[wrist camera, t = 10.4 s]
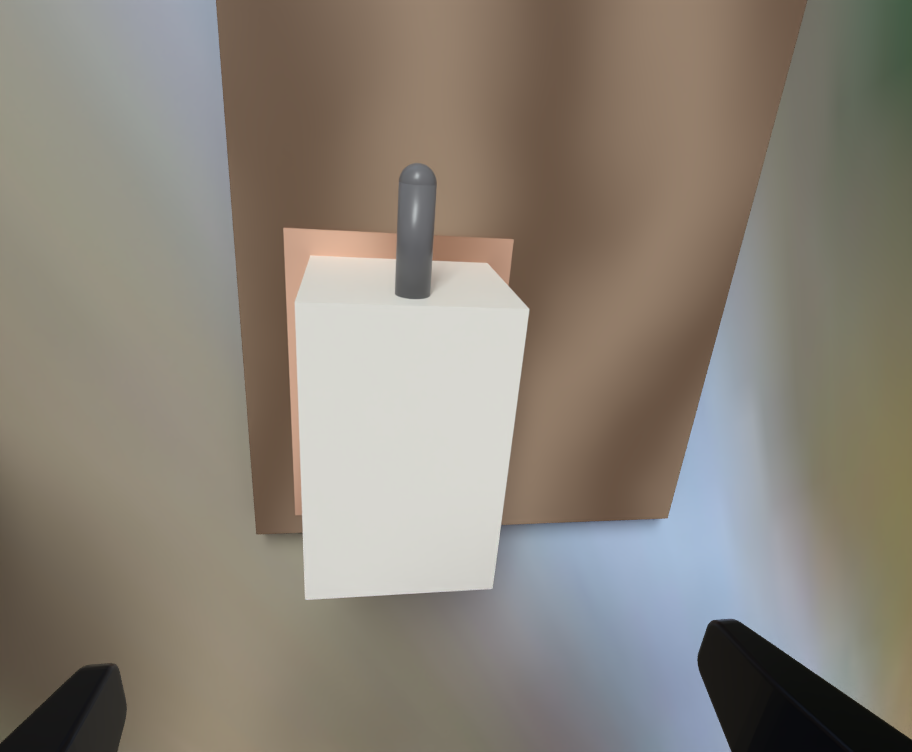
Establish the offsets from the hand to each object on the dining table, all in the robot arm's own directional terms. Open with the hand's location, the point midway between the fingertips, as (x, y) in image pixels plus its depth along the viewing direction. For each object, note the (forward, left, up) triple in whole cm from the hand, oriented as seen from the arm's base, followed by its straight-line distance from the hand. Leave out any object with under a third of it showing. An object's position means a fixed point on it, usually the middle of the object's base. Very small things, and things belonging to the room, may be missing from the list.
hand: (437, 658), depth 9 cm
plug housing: (0, +1, -10) cm, 10 cm away
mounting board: (+3, +3, -11) cm, 12 cm away
